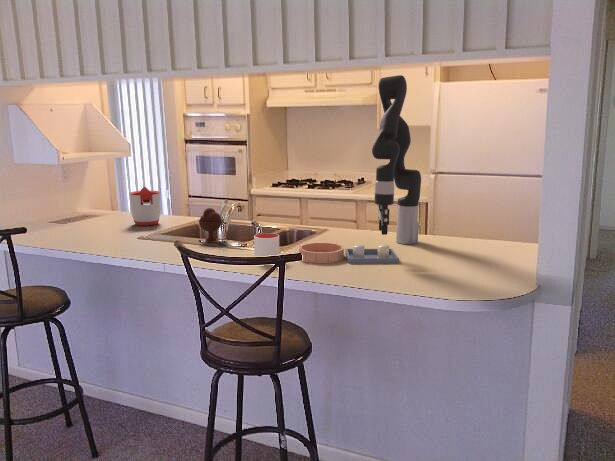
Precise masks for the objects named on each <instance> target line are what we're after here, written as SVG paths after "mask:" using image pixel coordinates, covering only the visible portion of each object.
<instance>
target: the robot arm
mask: <svg viewBox="0 0 615 461" xmlns="http://www.w3.org/2000/svg"><path fill="white" fill-rule="evenodd" d="M407 89H408V86H407V80H406V78H405V76H403V75H400V74H399V75H392V76H391V75H390V76H385V77H381V78H380V79H379V80H378V92H379V97H380V100H381V101H380V102H381V105H382V109H383V115H382V117H381V120H380V123H379V132H378V135H377V137H376V139H375V140H374V143H373V145H372V148H371V154H372V156H373V157H374V159H376V160H389V162H388V163H386V164H383V165H378V166H377V167H376V170H375V184H374V185H375V186H374V204H375V205H377V206H378V208H377V211H378V212H377V220H378V230H379V231H381V235H384V236H387V235H388V230H389V229H388V228H389V227H388V226H389V225H390V209H389V206H392V205H394V203H395V202H394V201H395V186H396V188H397V189H399V190H405V191H407V194H406V195H404V196H403V197H402V196H401V197H399V198H397V212H396V214H397V215H396V216H397V217H396V238H395V239H396V241H395V242H396V243H398V244H401V245H415V244H419V224H420V223H419V220H418V219H419V218H418V217H419V202H420V198H421V187H422V174H421V172H420V170H417V169H410V168H409V169H407V168H406V167H405V156H406V154H407V153H408V150H409V148H410V146H411V133H410V128H409V125H408V123H407V122H406V121H405V119H404V118H403V117H402V116H401V112H402V111H403V110H402V109H403V107H404V103H405V99H406V97H407V91H408V90H407ZM392 100H393V102H392Z"/></svg>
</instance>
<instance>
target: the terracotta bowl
mask: <svg viewBox="0 0 615 461" xmlns="http://www.w3.org/2000/svg"><path fill="white" fill-rule="evenodd" d="M299 253H301V254H302V255H303V261H304V262H303V261H302V262H303V263H305V262H308V263H307V264H310V263H315V264H329V263H336V262H340V261H342V260H343V259H344V258H345V256H344V254H345V247H344V245H342V244H339V243H334V242H325V241H324V242H322V241H320V242H315V241H314V242H308V243H304V244H302V245H299V246H298V254H299Z"/></svg>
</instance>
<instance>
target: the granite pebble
mask: <svg viewBox="0 0 615 461" xmlns="http://www.w3.org/2000/svg"><path fill="white" fill-rule="evenodd" d="M352 249H353V258H364V249H365V245H363V244H362V245H361V244H354V245H352Z"/></svg>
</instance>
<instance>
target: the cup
mask: <svg viewBox="0 0 615 461" xmlns="http://www.w3.org/2000/svg"><path fill="white" fill-rule="evenodd" d="M253 240H254V241H253V242H254V243H253V244H254V245H253V247H254V249H253V250H254V251H253V252H254V257H255V256H266V255H278V254H279V255H280V234H277V233H273V232H272V233H271V232H267V233H266V232H263V233H257V234H255V235H254V236H253Z"/></svg>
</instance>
